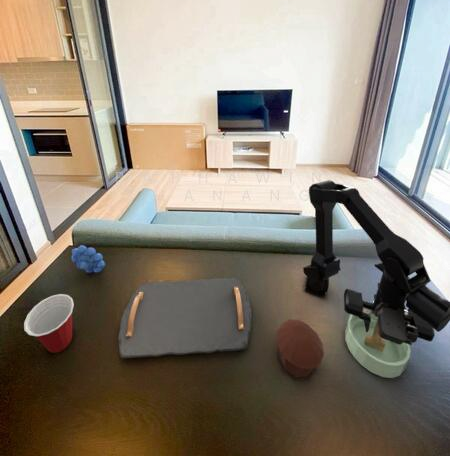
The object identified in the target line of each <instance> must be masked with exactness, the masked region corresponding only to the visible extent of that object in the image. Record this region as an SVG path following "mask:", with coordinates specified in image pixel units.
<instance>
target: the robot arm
mask: <svg viewBox="0 0 450 456" xmlns="http://www.w3.org/2000/svg"><path fill="white" fill-rule="evenodd" d="M308 195H309V201H310V204H311V205H312V206H313V208H314V210H315V251H314V253H313V255H312V257H311V259H310V264H308V265H306V266H303V267H302V269H303V274H304V276H305V277H306V280H305V286H304V291H305V293H308V294H311V295H314V296H317V297H320V298H323V299H325V298H326V294H328V292H329V291H328V290H329V287H330V278H332V277H333V276H336V275H337V274H339V272H340V271H341V270H342V269H341V267H340V266H341V265H340V264H341V259H340V258H337V256H336V255H335V253H334V252H333V251H334V248H333V247H334V243H333V242H334V241H333V239H334V238H333V237H334V235H333V234H334V231H333V229H334V228H333V222H334V220H333V217H334V216H333V215H334V214H333V211H334V209H335V207H336V206H337V204H340V205H343V206H344V208H345V209H346V210H347V211H348V213H349V214H350V215H351V216H352V217H353V219H354V220H355V221H356V222H357V224H358V225H359V226H360V227H361V229H362V230H363V231H364V232H365V234H366V235H367V236H368V237H369V238H370V240H371V241H372V242H373V245H374V246H375V251H376V255H377V257H378V259H379V260H380V261H377V262H376V263H375V264H374V265H373V266H374V267H375V268H376V269H377V270H379V271H380V272H381V273H382V274H381V277H380V280H379V282H377V290H376V293H374V295H373V299H374V300H373V301H371V302H369V301H366V300H364V299H363V293H362V292H360V291H356V290H353V289H350V288H346V289H345V290H344V292H343V308H344V309H343V310H344V312H345V313H346V314H349V315H354V316H357V317H359V318H360V319H362V320H364V323H365V329H366V332H368V331H369V325H370V322H371V317H370V314H371V313H372V314H375V316H376V317H378V333H379V336H380V337H381V338H383V339H385V340H389V341H391V342H394V343H396V344H399V345H400V344H402V343H403V342H404V343H406V344H409V346H412V344H413V343H414V344H415V343H416V342H417V341H418V339H421V340H424V341H426V342H433V340H434V338H435V334H436V333H435V331H436V332H437V333H439V332H441V331H443V329H444V328H445V327H446V326H447V325H448V324H449V323H450V300H448V299H446V298H445V297H443V296H440V295H439V294H438V293H436V292H435V291H434V290H432V289H431V288H429V287H427V285H428V284H429V283H430V282H432V281H431V278H430V276H429V273H428V271H427V268H426V266H425V264H424V256H423V254H422V253H421V251H419V250H418V249H417V248H416V247H415V246H414V245H412V243H411V242H409V241H408V240H407V239H406V238H404V237H403V236H400V235H397V234H396V233H395V232H394V231H393V230H391V229H390V228H389V226H388V225H387V224H386V223H385V222H384V220H382V218H381V217H380V216H379V215H378V214H377V213H376V212H375V210H373V208H372V207H371V206H370V204H369V203H368V202H366V200H365V199H364V198H363V197H362V195H361V194H360V192H359V190H358V189H357V188H355V187H352V186H347V185H345V184H343V183H336V182H335V181H333V180H331V179H327V180H323V181H320V182H316V183H313V184H311V185H310V186H309V187H308ZM414 273H415V275H413V274H414ZM411 275H413V276H412V277H410V276H411ZM406 308H407V310H406Z"/></svg>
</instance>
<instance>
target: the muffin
mask: <svg viewBox="0 0 450 456" xmlns="http://www.w3.org/2000/svg"><path fill="white" fill-rule="evenodd" d="M276 344H277V348H278V349H277V350H278V357H279V360H280V362H281V364H282V366H283V368H284V371H286V372H287V373H289V374H290V375H292V376H293V377H294V378H295V379H298V378H299V379H300V378H306V379H307V378H308V377H309V375H310V374H311V372H313V371H314V370H315V369H316V367H317V366H319V365H320V364H321V363H322V360H323V358H324V355H325V352H324V345H323V341H322V340H321V338H320V336H319V335H318V333H317V331H315V330H314V329H313V328H312V327H311V326H310V325H309V324H307V323H306V322H304V321H301V320H300V319H291V318H290V319H288V320H286V321H284V322H281V323H280V325H279V327H278V328H277V329H276Z"/></svg>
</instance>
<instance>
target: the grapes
mask: <svg viewBox="0 0 450 456" xmlns="http://www.w3.org/2000/svg"><path fill="white" fill-rule="evenodd" d="M103 259H104V257H103V255H102V253H100V252H99V253H98V252H97V253H96V249H95V248H94V247H87V246H86V245H79V246H77V247H76V248H72V250H71V257H70V260H71V262H72V263H75V264H76V268H77V269H79V270H83V271H85V272H86V273H87V274H91V273H93V272H94V273H96V274H98V273H100V272H102V269H103V268H105V267H106V263H105V261H104V260H103Z"/></svg>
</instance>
